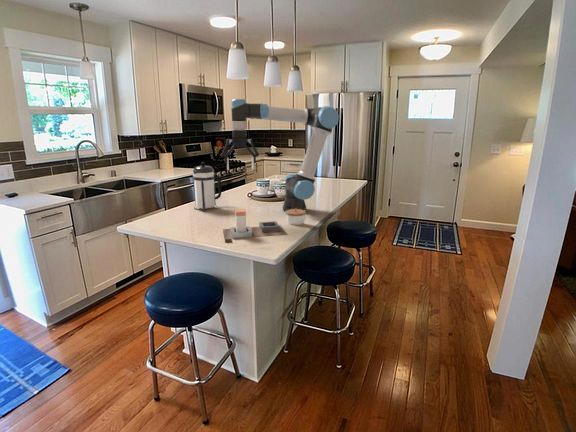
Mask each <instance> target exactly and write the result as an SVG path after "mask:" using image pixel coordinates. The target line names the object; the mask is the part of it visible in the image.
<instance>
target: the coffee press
mask: <svg viewBox="0 0 576 432" xmlns="http://www.w3.org/2000/svg"><path fill="white" fill-rule="evenodd" d="M200 163H201V164H200V165H198V166H195V167H193V170H192V172H193V173H192V177H193V186H194V198H195V200H194V201H195V205H194V207H193V209H194V210H196V209H202V212H206V209H212V208H213V209H215V210H217V209H219V207H218V206H217V204H216V201H217V200H218V199H219V198H221V196H222V180H221V177H220V175H217V174H214V172H215V169H214V168H213V167H212V165H211V166H210V165H206V163H205V162H204V161H202V162H200ZM215 178H216V179H217V186H218V187H217V189H218V190H217V193H218V194H217V195H216V186H215Z"/></svg>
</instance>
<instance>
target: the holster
mask: <svg viewBox="0 0 576 432" xmlns="http://www.w3.org/2000/svg"><path fill="white" fill-rule="evenodd" d="M258 224H259V226H258V227H260V229H261V231H262V232H273V231H280V226H279V225H280V224H279V223H278V222H277V221H276V220H274V221H260V222H259V223H258Z"/></svg>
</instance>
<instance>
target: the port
mask: <svg viewBox="0 0 576 432" xmlns="http://www.w3.org/2000/svg"><path fill="white" fill-rule="evenodd" d="M250 227H251V226H250V225H249V226H248V225H246V232H236V226H234V227H230V228H229V229H230V232H231V236H232V240H235V238H239V239H249V238H248V237H252V230H251V228H250ZM252 238H253V237H252Z"/></svg>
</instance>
